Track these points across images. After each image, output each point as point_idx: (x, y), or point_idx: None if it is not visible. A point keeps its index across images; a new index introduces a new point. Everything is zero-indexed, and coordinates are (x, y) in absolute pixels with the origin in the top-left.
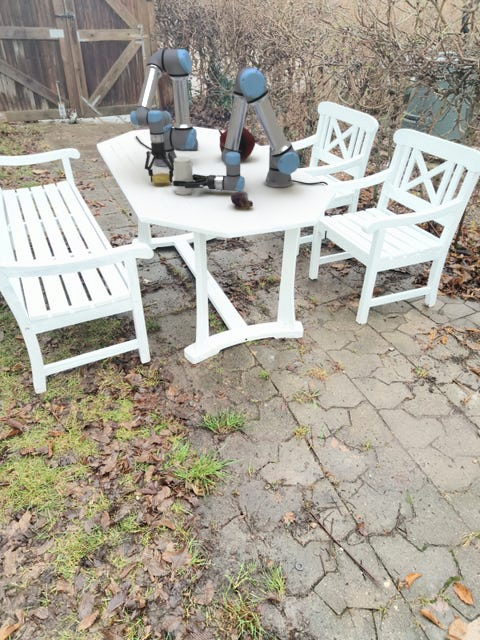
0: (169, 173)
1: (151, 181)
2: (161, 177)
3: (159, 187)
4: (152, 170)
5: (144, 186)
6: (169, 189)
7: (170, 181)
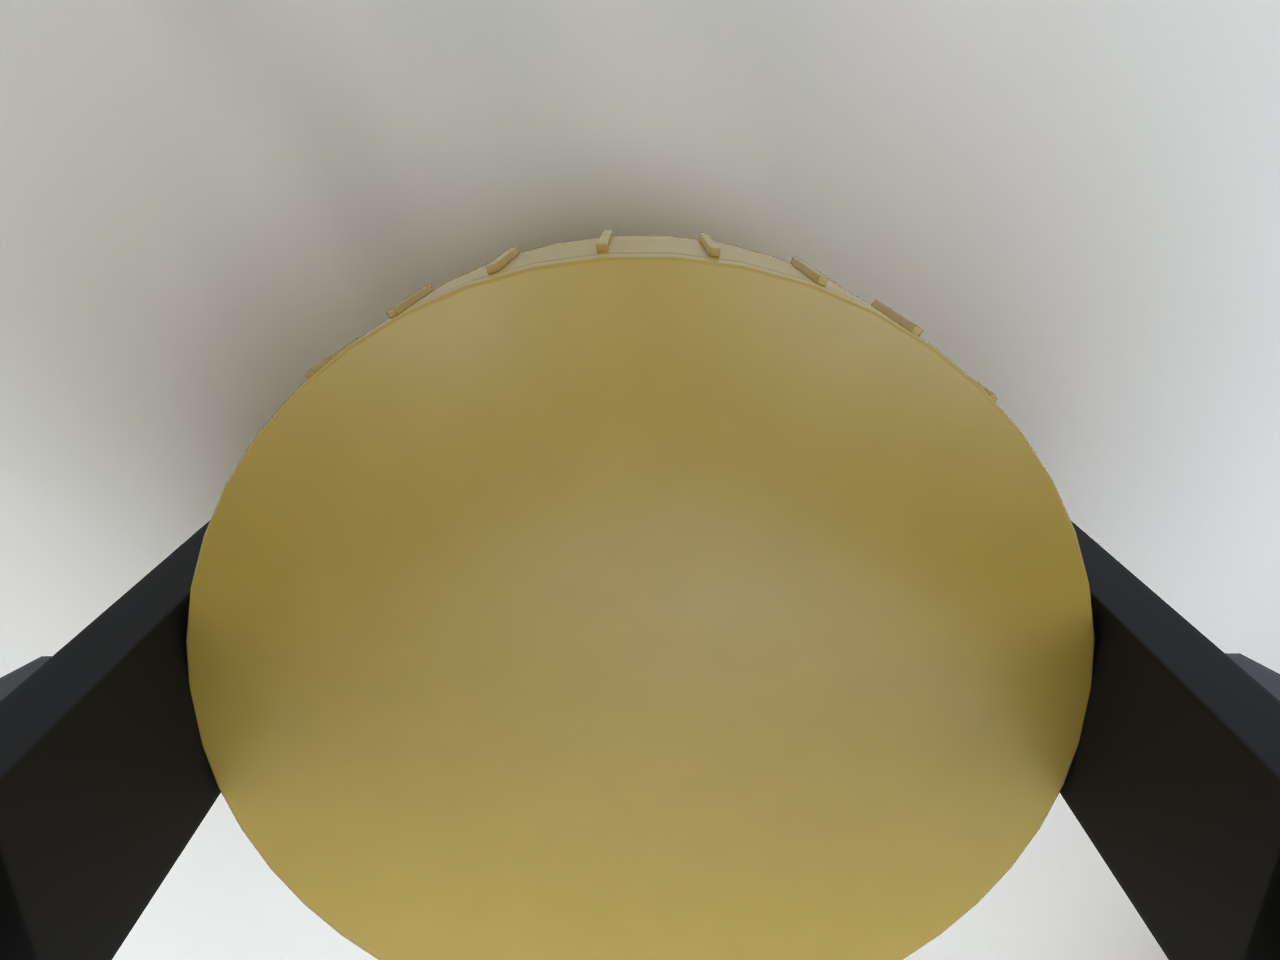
0: (1172, 932)
1: None
2: (724, 903)
3: None
4: (32, 778)
5: None
6: None
7: None
